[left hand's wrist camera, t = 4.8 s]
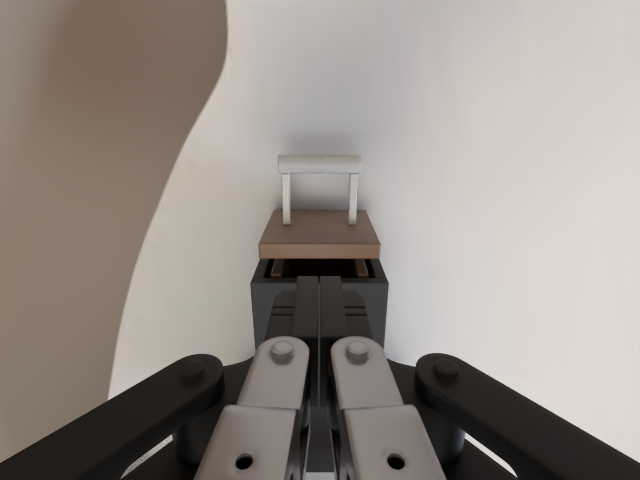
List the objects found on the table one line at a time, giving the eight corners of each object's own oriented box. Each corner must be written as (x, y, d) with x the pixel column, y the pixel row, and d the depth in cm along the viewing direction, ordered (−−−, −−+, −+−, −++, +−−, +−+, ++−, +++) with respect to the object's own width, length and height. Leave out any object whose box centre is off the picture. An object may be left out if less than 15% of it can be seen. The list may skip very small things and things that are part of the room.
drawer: (270, 149, 32) (252, 163, 24) (368, 149, 32) (386, 163, 24) (280, 365, 40) (270, 432, 32) (358, 365, 40) (368, 432, 32)
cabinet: (269, 233, 36) (250, 283, 26) (369, 233, 36) (389, 283, 26) (277, 386, 43) (264, 472, 33) (361, 386, 43) (374, 472, 33)
